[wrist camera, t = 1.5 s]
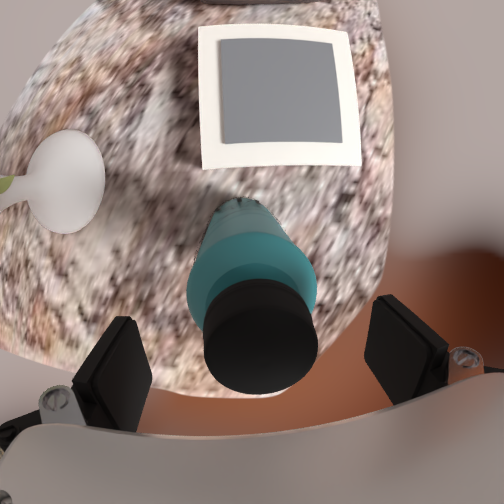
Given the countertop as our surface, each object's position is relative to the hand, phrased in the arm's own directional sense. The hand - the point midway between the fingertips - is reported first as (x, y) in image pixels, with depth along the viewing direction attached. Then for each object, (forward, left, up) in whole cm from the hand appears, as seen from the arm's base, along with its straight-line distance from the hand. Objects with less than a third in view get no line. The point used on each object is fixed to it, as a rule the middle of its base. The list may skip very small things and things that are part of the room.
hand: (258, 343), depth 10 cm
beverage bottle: (0, 0, -19) cm, 19 cm away
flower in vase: (-7, -18, -19) cm, 27 cm away
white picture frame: (-13, +4, -19) cm, 23 cm away
